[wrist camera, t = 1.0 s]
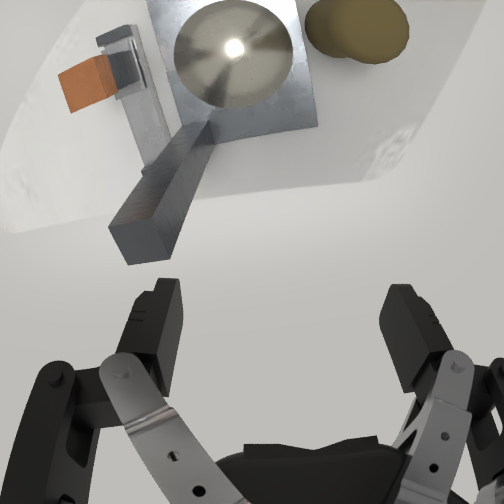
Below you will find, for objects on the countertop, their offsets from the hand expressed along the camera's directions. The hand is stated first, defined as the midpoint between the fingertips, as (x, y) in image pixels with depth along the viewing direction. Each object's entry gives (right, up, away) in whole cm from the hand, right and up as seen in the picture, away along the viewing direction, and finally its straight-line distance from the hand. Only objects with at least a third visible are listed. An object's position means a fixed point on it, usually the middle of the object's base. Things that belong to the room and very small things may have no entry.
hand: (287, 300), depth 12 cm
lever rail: (-12, +16, +15) cm, 25 cm away
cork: (+6, +21, +11) cm, 25 cm away
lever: (-12, +18, +12) cm, 25 cm away
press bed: (-3, +19, +13) cm, 23 cm away
